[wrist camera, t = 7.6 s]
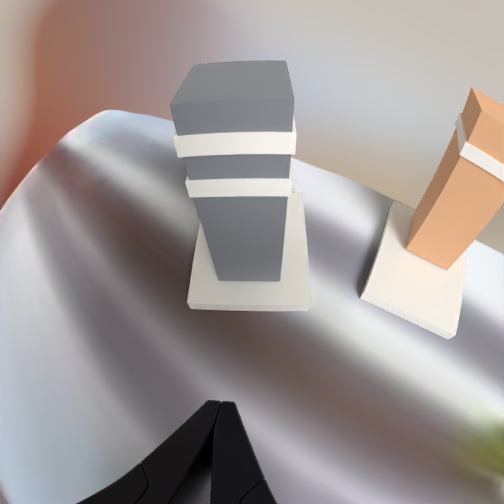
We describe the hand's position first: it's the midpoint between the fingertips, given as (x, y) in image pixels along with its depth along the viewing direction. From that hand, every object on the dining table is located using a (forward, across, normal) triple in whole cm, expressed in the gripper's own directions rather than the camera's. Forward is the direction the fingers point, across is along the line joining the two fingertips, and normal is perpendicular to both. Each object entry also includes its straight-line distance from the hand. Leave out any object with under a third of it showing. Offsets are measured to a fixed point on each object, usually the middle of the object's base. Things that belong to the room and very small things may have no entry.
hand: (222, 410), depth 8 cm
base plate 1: (+17, 0, -1) cm, 17 cm away
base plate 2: (+16, -15, 0) cm, 22 cm away
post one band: (+16, -16, -2) cm, 23 cm away
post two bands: (+15, 0, -1) cm, 15 cm away
